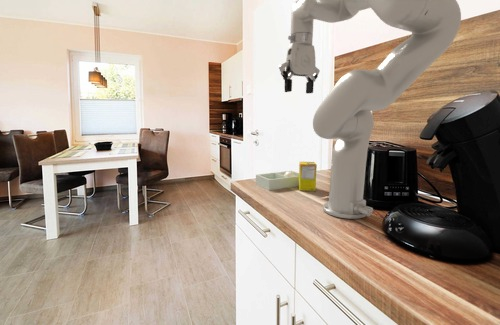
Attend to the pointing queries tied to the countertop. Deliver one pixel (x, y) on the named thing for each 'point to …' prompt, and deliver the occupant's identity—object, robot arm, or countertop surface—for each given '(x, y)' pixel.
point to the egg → (289, 174)
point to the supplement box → (307, 176)
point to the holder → (277, 180)
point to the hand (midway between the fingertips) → (299, 92)
